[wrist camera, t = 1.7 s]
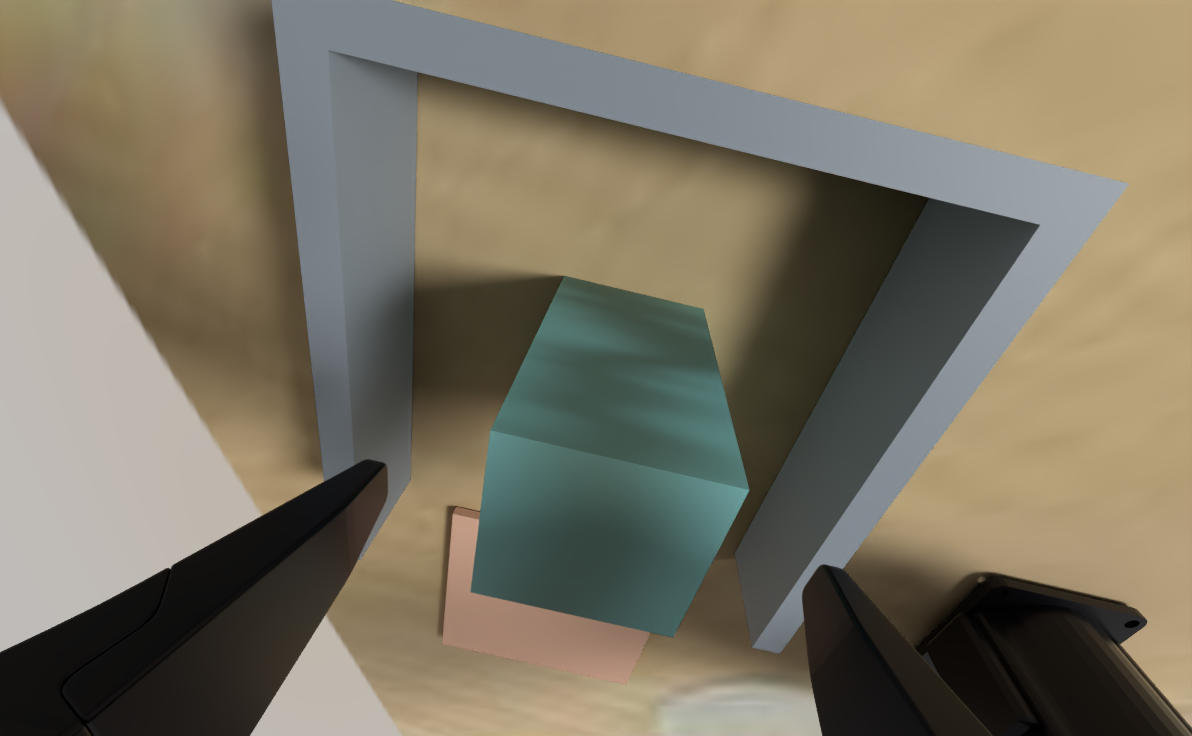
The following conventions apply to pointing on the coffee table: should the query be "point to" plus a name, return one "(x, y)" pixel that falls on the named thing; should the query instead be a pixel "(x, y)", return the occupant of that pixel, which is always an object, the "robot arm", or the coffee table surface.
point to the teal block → (610, 463)
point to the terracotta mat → (529, 622)
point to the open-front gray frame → (695, 111)
